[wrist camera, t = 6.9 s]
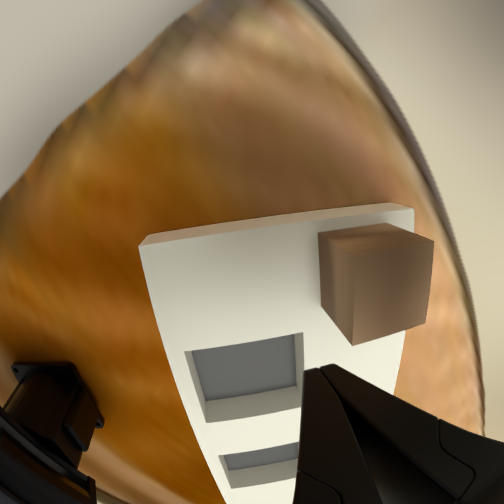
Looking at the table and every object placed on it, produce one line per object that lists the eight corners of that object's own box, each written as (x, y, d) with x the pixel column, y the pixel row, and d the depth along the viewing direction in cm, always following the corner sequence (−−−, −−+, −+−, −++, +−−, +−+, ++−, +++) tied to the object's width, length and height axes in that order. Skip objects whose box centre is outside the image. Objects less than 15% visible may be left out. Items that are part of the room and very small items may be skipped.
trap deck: (229, 496, 24) (231, 513, 22) (148, 234, 16) (138, 246, 13) (358, 466, 25) (365, 482, 23) (390, 202, 17) (414, 208, 15)
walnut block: (320, 306, 16) (352, 346, 12) (317, 232, 14) (354, 256, 11) (384, 291, 16) (425, 323, 12) (386, 222, 15) (433, 241, 11)
